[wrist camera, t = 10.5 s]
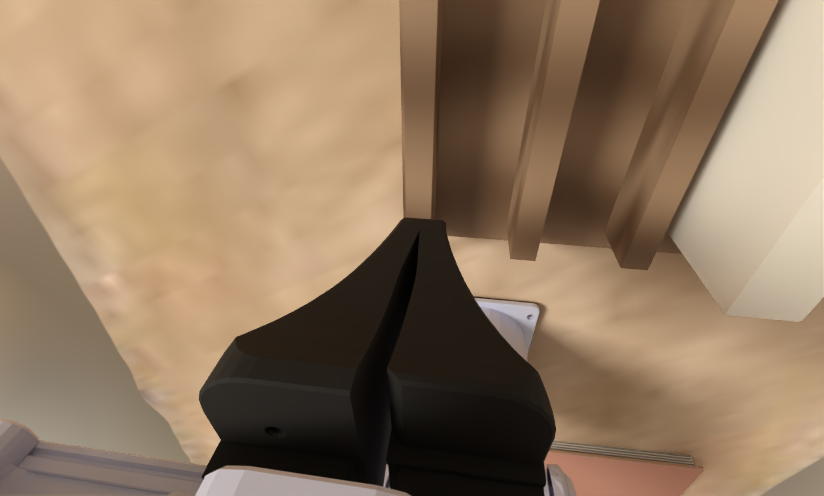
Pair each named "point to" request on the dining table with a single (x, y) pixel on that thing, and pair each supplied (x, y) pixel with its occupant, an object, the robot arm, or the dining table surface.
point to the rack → (565, 115)
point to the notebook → (622, 470)
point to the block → (764, 179)
